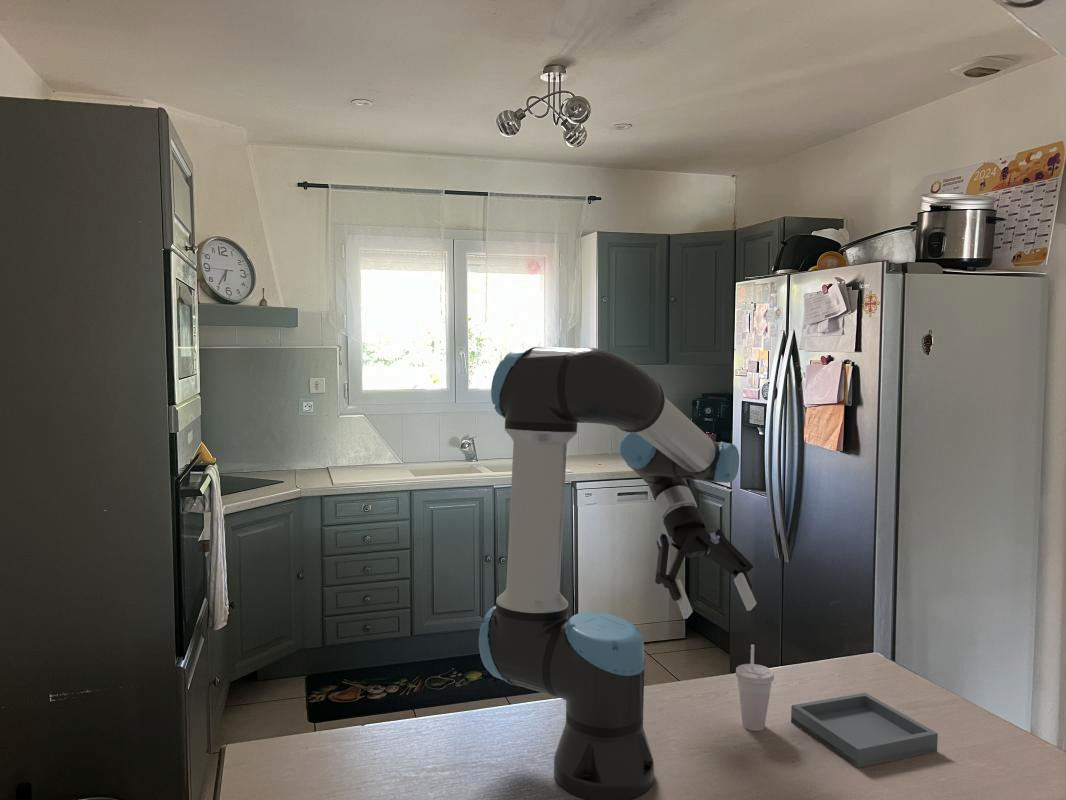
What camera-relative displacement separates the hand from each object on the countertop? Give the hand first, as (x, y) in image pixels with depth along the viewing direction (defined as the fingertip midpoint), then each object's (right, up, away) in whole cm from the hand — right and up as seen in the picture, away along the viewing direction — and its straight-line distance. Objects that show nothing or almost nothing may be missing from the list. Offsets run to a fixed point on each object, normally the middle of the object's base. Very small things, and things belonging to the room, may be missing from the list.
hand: (720, 611), depth 145 cm
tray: (+21, -18, -13) cm, 30 cm away
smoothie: (+3, -17, -9) cm, 20 cm away
